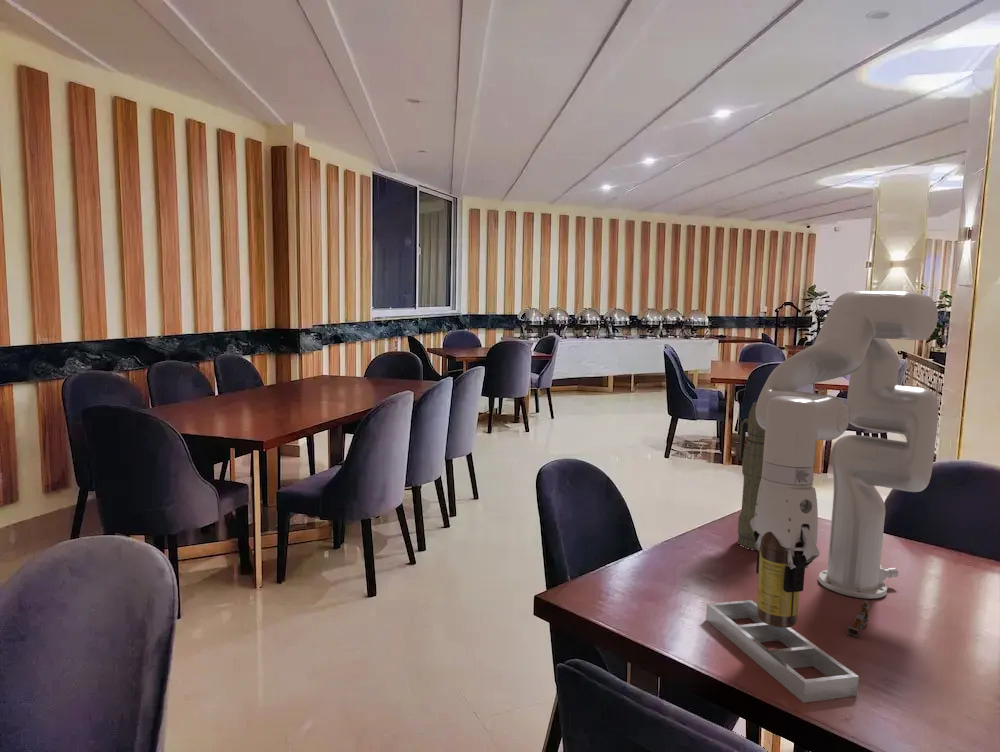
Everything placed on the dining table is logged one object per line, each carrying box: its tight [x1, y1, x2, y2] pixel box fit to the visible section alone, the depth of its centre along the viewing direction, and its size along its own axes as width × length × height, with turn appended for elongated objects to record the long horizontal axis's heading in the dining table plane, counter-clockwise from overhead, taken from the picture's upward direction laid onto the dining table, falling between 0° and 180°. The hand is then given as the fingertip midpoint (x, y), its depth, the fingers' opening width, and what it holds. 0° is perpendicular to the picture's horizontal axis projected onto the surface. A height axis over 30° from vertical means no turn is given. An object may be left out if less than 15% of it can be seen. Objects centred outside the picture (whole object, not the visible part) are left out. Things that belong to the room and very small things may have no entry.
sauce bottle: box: [756, 532, 800, 628], centre depth 107 cm, size 6×6×20 cm
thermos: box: [737, 400, 765, 550], centre depth 158 cm, size 9×12×35 cm
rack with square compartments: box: [705, 599, 860, 704], centre depth 109 cm, size 9×26×3 cm, turn 14°
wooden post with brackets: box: [846, 600, 870, 638], centre depth 118 cm, size 2×8×4 cm, turn 135°
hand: (778, 581), depth 107 cm, fingers closed on sauce bottle, 6 cm apart
